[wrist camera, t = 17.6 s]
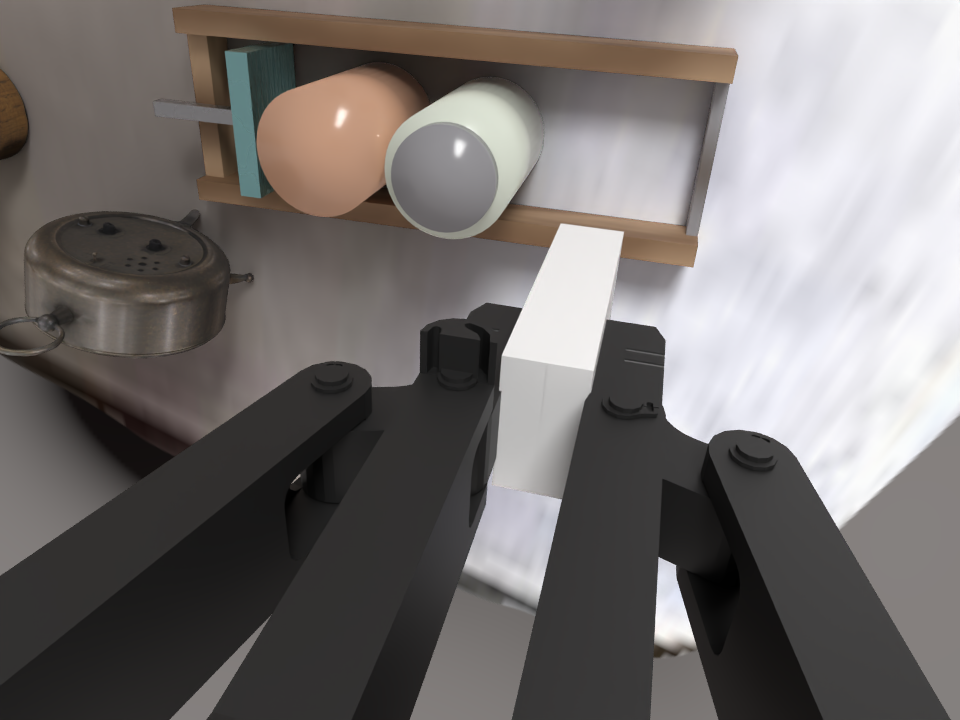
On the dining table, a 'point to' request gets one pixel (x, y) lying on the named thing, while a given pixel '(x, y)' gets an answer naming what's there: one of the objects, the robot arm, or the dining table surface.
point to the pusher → (244, 104)
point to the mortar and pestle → (11, 119)
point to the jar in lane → (336, 136)
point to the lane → (461, 42)
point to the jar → (464, 157)
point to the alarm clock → (124, 285)
